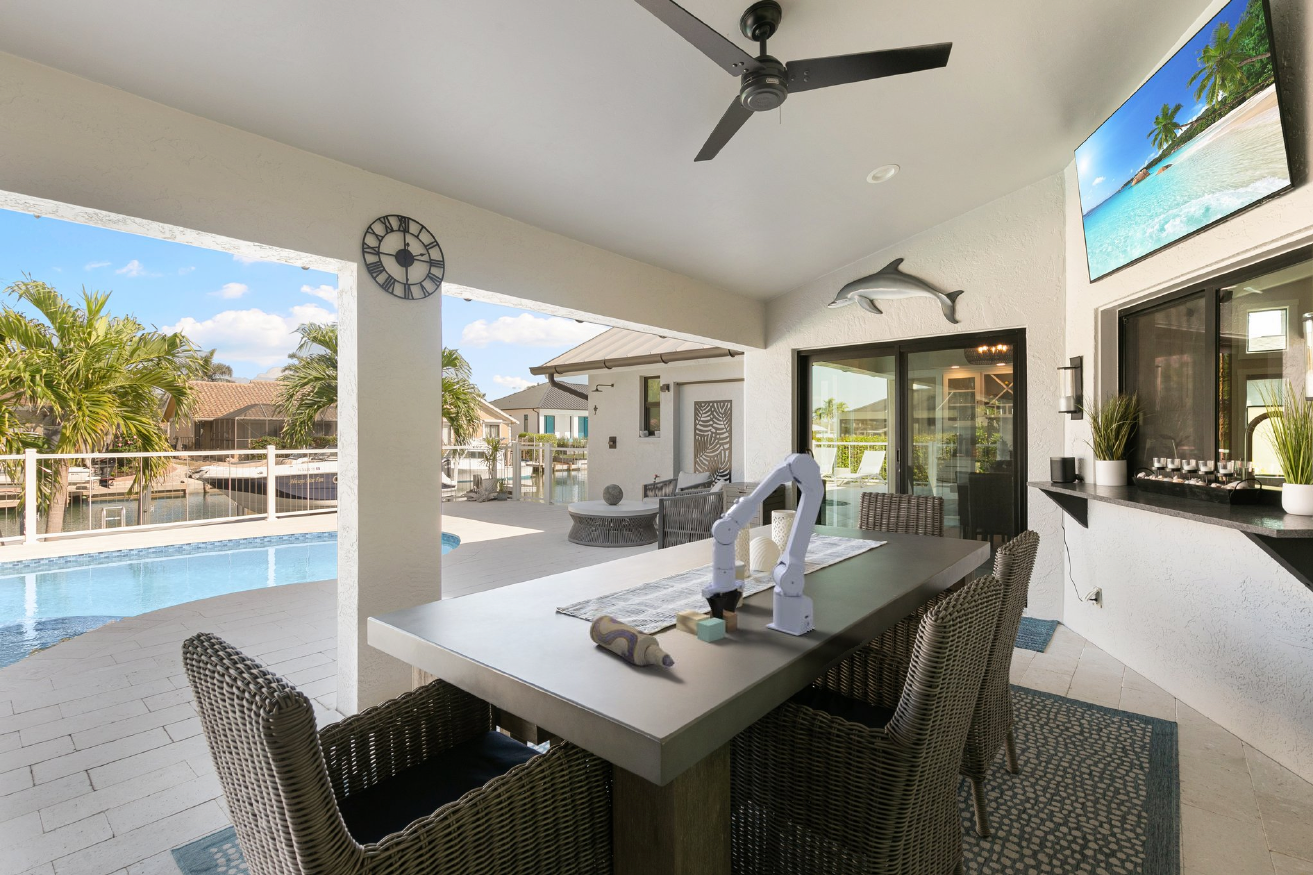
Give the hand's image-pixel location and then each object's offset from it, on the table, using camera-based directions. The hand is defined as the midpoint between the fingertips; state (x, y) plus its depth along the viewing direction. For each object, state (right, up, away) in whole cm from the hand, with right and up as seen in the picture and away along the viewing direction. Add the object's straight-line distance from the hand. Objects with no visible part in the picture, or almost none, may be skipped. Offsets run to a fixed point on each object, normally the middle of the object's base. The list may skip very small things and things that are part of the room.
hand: (723, 621), depth 150 cm
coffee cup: (+4, -2, +22) cm, 22 cm away
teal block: (-4, -2, -8) cm, 9 cm away
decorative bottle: (-23, -2, -22) cm, 32 cm away
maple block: (-8, -2, -2) cm, 8 cm away
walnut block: (0, -2, 0) cm, 2 cm away
